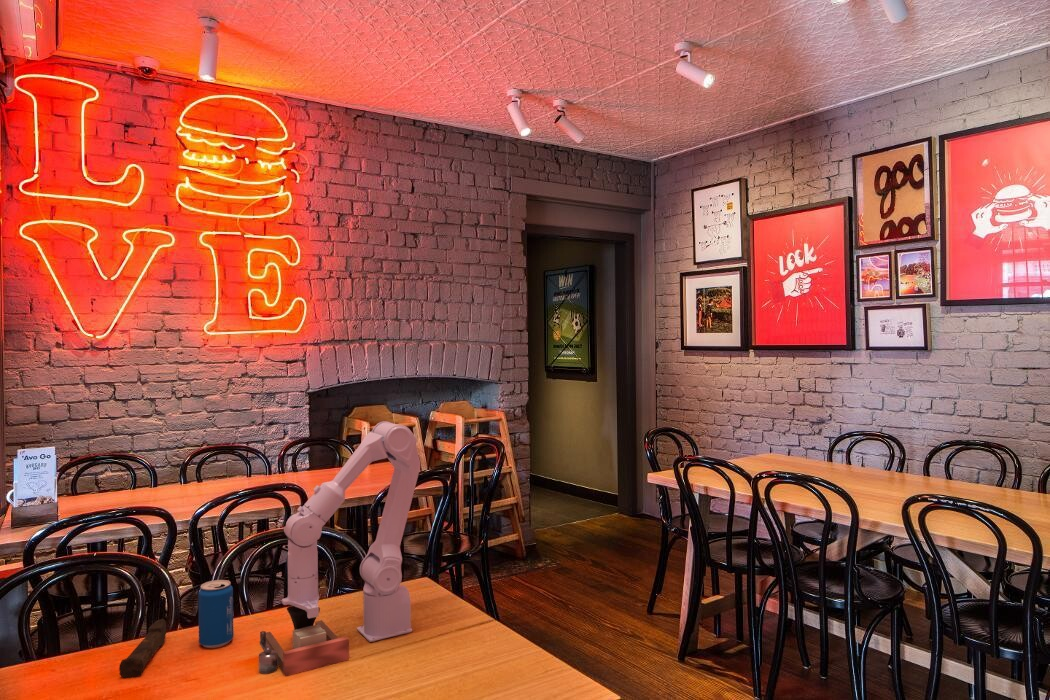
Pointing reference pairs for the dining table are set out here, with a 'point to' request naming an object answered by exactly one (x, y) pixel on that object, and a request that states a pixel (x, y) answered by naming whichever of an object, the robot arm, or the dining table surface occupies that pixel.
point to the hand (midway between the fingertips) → (303, 642)
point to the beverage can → (215, 613)
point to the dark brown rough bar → (144, 651)
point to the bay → (311, 652)
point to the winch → (267, 656)
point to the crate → (308, 636)
